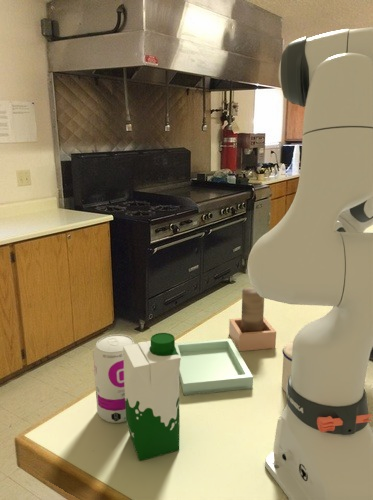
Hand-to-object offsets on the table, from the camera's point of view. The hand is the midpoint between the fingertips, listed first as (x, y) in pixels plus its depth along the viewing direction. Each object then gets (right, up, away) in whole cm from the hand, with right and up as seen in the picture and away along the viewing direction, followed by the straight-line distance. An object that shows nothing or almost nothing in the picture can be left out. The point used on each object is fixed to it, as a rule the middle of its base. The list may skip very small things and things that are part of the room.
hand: (299, 272), depth 109 cm
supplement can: (-42, -26, -25) cm, 56 cm away
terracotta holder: (-12, -18, +3) cm, 22 cm away
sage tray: (-24, -22, -11) cm, 34 cm away
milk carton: (-35, -29, -34) cm, 56 cm away
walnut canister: (-12, -18, +3) cm, 22 cm away
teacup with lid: (-3, -24, -17) cm, 30 cm away
